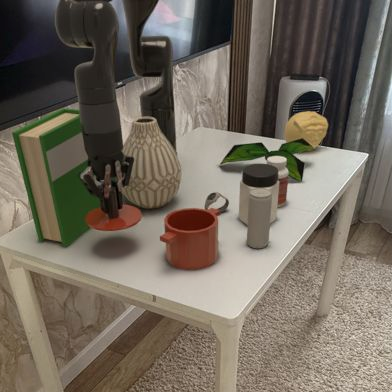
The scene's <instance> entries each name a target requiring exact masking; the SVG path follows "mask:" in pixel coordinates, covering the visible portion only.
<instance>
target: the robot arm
mask: <svg viewBox="0 0 392 392" xmlns="http://www.w3.org/2000/svg"><path fill="white" fill-rule="evenodd" d="M112 1H113V0H59V1H58V3H57V5H56V9H55V13H54V26H55V30H56V33H57V36H58V37H59V40H60V41H61V42H62V43H63V44H65V45H66V46H68V47H71V48H79V49H80V48H83V49H85V48H86V49H94V54H93V58H92V60H91V61H86V62H82V63H80V64H78V65H77V66H75V68H74V82H75V89H76V94H77V100H78V110H79V116H80V122H81V129H82V135H83V141H84V147H85V151H86V153H87V155H88V162H87V168H86V170H85V171H84V172H83V173H82V172H79V173H78V177H79V179H80V180H81V182H82V183H83V185H84V186H85V188H86V189H87V191H88V192H89V194H90V195H92V196H95V197H97V198H99V200H100V206H101V210H102V211H103V212H104V213H106V214H108V215H109V214H111V213H112V208H111V200H110V197H109V187H115V188H116V194H117V202H118V209H119V210H120V209H122V208H123V207H122V205H123V204H124V197H123V192H122V191H123V188H124V187H125V186H128V185H129V181H130V177H131V172H132V168H133V163H134V158H133V157H131V156H128V155H124V154H123V152H122V150H123V145H124V139H123V131H122V123H121V121H122V120H121V114H120V108H119V104H118V98H117V90H116V80H115V68H116V67H115V66H116V65H115V64H116V55H117V47H118V42H119V41H118V40H119V31H120V23H119V18H118V17H119V16H118V13H117V11H116V10H115V8H114V6H113V5H112V4H111V3H112ZM159 1H160V0H121V3H122V8H123V11H124V17H125V24H126V32H127V43H128V51H129V61H130V66H131V69H132V72H133V74H134V75H135V76H136V77H137V78H141V79H142V78H143V79H144V78H145V79H147V78H160V81H159V83H157V84H156V85H155V86H153V87H151V88H148V89H146V90H144V91H143V92H141V93H140V95H139V107H140V108H139V109H140V117H153V118H155V119H156V120H157V123H158V125H159V128H160V130H161V132H162V133H163V135H164V136H165V137H166V138H167V140H168V141H169V142H170V144H171V145H172V147H173V148H174V150H175V152H176V154H177V155H178V152H177V134H176V113H175V112H176V110H175V109H176V108H175V95H174V51H173V43H172V40H171V38H170V37H169V36H168V35H143V32H144V29H145V26H146V24H147V23H148V20H149V19H150V18H151V16H152V15H153V12H154V11H155V9H156V7H157V6H158V4H159ZM92 173H93V174H94V177H93V175H92ZM124 173H125V177H124ZM123 177H124V179H123ZM93 180H94V181H95V182H94V181H93ZM102 187H103V188H102Z"/></svg>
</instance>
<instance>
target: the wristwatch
mask: <svg viewBox="0 0 392 392" xmlns="http://www.w3.org/2000/svg"><path fill="white" fill-rule="evenodd" d="M219 198H222V199H224V200H225V202H224V204H223V205H222V206H220V207H217V208H216V209H217V210H220V214H221V213H223V212H224V213H225V212H226V210H227V209H228V208H229V205H230V201H229V198H228V197H226V196H224V194H221V192H217V191H214V192H213V191H212V192H211V193H209V194H208V195H207V197H206V198H205V202H204V209H205V210H208V209H210V206H211V205H212V204H214V203H217V201H218V199H219Z"/></svg>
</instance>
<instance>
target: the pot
mask: <svg viewBox="0 0 392 392" xmlns="http://www.w3.org/2000/svg"><path fill="white" fill-rule="evenodd" d="M217 209H218V208H214V207H209V208H208V210H205V208H199V207H185V208H180V209H176V210H174V211H171V212H170V213H168V214H166V215H165V217H164V219H163V227H164V233H163V234H161V235H159V241H160V242H162V243H165V254H166V260H167V262H168V263H169V264H170V265H171V266H173V267H175V268H177V269H180V270H191V271H192V270H201V269H206V268H207V267H210V266H212V265H213V264H214V263H216V262H217V260H218V257H219V218H218V217H219V216H220V215H221V213H220V210H217Z"/></svg>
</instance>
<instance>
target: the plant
mask: <svg viewBox="0 0 392 392" xmlns="http://www.w3.org/2000/svg"><path fill="white" fill-rule="evenodd" d="M315 149H316V148H313V147H312V146H311V145H310V144H309V143H308V142H307V141H305V140H304V139H303V138H301V139H298V140H294V141H291V142H287V143H286V142H284V143H281V145H280V146H279V148H278V149H277V150H270V151H269V149H268V148H267V147H266V145H265V144H264V143H263V142H251V143H242V144H241V143H240V144H234V145H233V146H232V147H231V148H230V150H229V151H228V152H227V153H226V155H225V156H224V157H223V159H222V160H221V162H220V163H219V166H220V165H223V164H228V163H236V162H246V161H247V162H248V161H253V160H257V159H261V158H264V160H265V161H267V159H268V158H269V157H272V156H282V157H285V158H286V159H287V164H286V166H285V167H286V168H287V169H288V172H289V173H288V178H291V179H293V180H294V181H297V182H301V183H302V182H303V178H304V174H305V173H304V172H305V166H306V163H305V162H304V161H302V160H301V159H299V158H298V157H297V156H296V154H301V153H304V152H309V151H308V150H311V151H313V150H315Z"/></svg>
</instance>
